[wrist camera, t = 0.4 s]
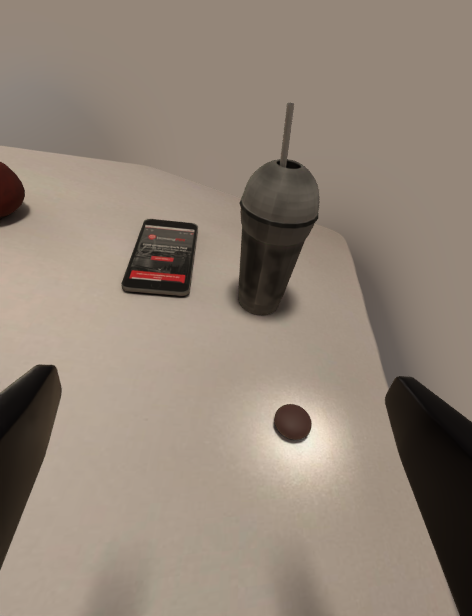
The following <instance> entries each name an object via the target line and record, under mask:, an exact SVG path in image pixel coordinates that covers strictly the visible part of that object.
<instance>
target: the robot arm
mask: <svg viewBox="0 0 472 616" xmlns="http://www.w3.org/2000/svg"><path fill="white" fill-rule="evenodd" d="M61 393H62V388H61V383H60V379H59V376H58V372H57V368H56V367H55V366H54V365H36V366H34V367H33V368H32V369H30V370H29V371H28V372H27V373H25V374H24V375H23V376H21V377H20V378H19V379H17V380H16V381H15V382H14V383H12V384H11V385H10V386H8V387H7V388H6V389H5V390H3V391H2V392H1V393H0V569H1V567H2V564H3V562H4V559H5V557H6V554H7V552H8V549H9V546H10V544H11V541H12V539H13V536H14V534H15V531H16V529H17V526H18V524H19V521H20V518H21V516H22V513H23V511H24V508H25V506H26V503H27V501H28V498H29V496H30V493H31V490H32V488H33V485H34V483H35V480H36V478H37V475H38V473H39V470H40V467H41V465H42V462H43V459H44V457H45V454H46V450H47V447H48V443H49V440H50V436H51V432H52V428H53V425H54V421H55V417H56V413H57V410H58V406H59V402H60V398H61ZM385 405H386V409H387V412H388V416H389V420H390V424H391V427H392V431H393V435H394V439H395V442H396V446H397V449H398V453H399V456H400V459H401V462H402V464H403V467H404V470H405V472H406V475H407V478H408V480H409V483H410V486H411V488H412V491H413V493H414V496H415V499H416V501H417V504H418V507H419V509H420V512H421V515H422V517H423V520H424V522H425V525H426V528H427V530H428V533H429V536H430V538H431V541H432V543H433V546H434V549H435V551H436V554H437V557H438V559H439V562H440V565H441V567H442V570H443V572H444V575H445V578H446V580H447V583H448V586H449V588H450V591H451V594H452V596H453V599H454V601H455V604H456V607H457V609H458V612H459V615H460V616H472V422H471V421H469V420H468V419H467V418H466V417H464V416H463V415H462V414H460V413H459V412H458V411H456V410H455V409H454V408H452V407H451V406H450V405H448V404H447V403H446V402H445V401H443V400H442V399H441V398H439V397H438V396H437V395H435V394H434V393H433V392H431V391H430V390H429V389H427V388H426V387H425V386H424V385H422V384H421V383H420V382H418V381H417V380H415V379H414V378H412V377H404V376H399V377H396V378H395V379H394V381H393V383H392V385H391V387H390V388H389V390H388V392H387V394H386V397H385Z"/></svg>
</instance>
